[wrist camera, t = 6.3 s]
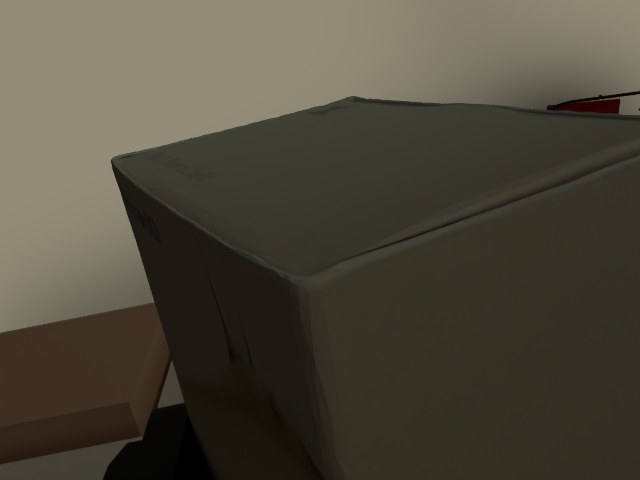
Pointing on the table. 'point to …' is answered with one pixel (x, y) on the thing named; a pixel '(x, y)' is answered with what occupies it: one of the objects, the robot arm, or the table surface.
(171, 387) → the keypad
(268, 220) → the skincare box
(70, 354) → the terracotta key
